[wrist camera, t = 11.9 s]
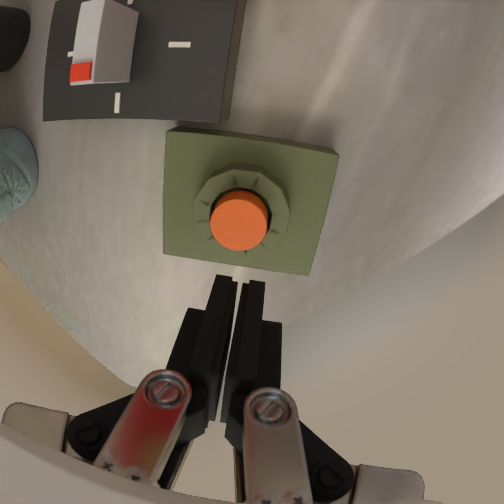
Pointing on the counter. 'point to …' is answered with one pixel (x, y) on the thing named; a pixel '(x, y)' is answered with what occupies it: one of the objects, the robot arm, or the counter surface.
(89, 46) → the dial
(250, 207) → the button
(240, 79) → the counter surface
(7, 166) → the teal embossed cup
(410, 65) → the counter surface
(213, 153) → the button block
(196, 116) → the plate
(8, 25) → the travel mug
